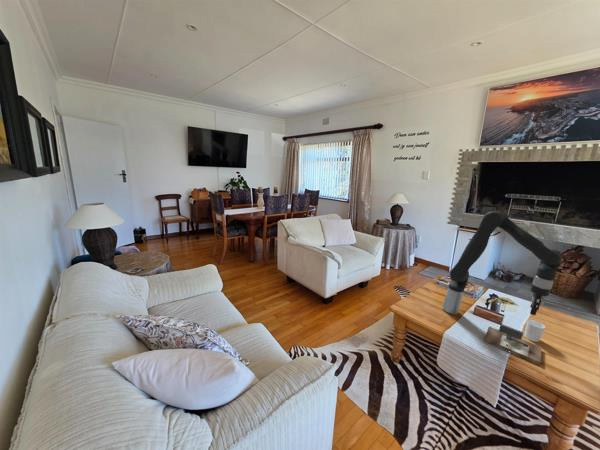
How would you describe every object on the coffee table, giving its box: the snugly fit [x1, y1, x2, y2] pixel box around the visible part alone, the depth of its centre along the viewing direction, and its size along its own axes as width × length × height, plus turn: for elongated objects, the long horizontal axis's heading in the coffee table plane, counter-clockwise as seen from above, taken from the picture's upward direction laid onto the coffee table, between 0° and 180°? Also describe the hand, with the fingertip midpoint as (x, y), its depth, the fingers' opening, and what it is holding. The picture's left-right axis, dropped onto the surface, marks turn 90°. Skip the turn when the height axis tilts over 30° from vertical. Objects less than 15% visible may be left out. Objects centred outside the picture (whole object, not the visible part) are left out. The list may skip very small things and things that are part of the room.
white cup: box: [523, 319, 546, 343], centre depth 146 cm, size 8×8×10 cm
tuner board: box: [483, 326, 542, 366], centre depth 140 cm, size 24×16×2 cm, turn 46°
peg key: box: [498, 323, 529, 346], centre depth 141 cm, size 14×2×7 cm, turn 46°
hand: (532, 311), depth 136 cm, fingers open, 8 cm apart
